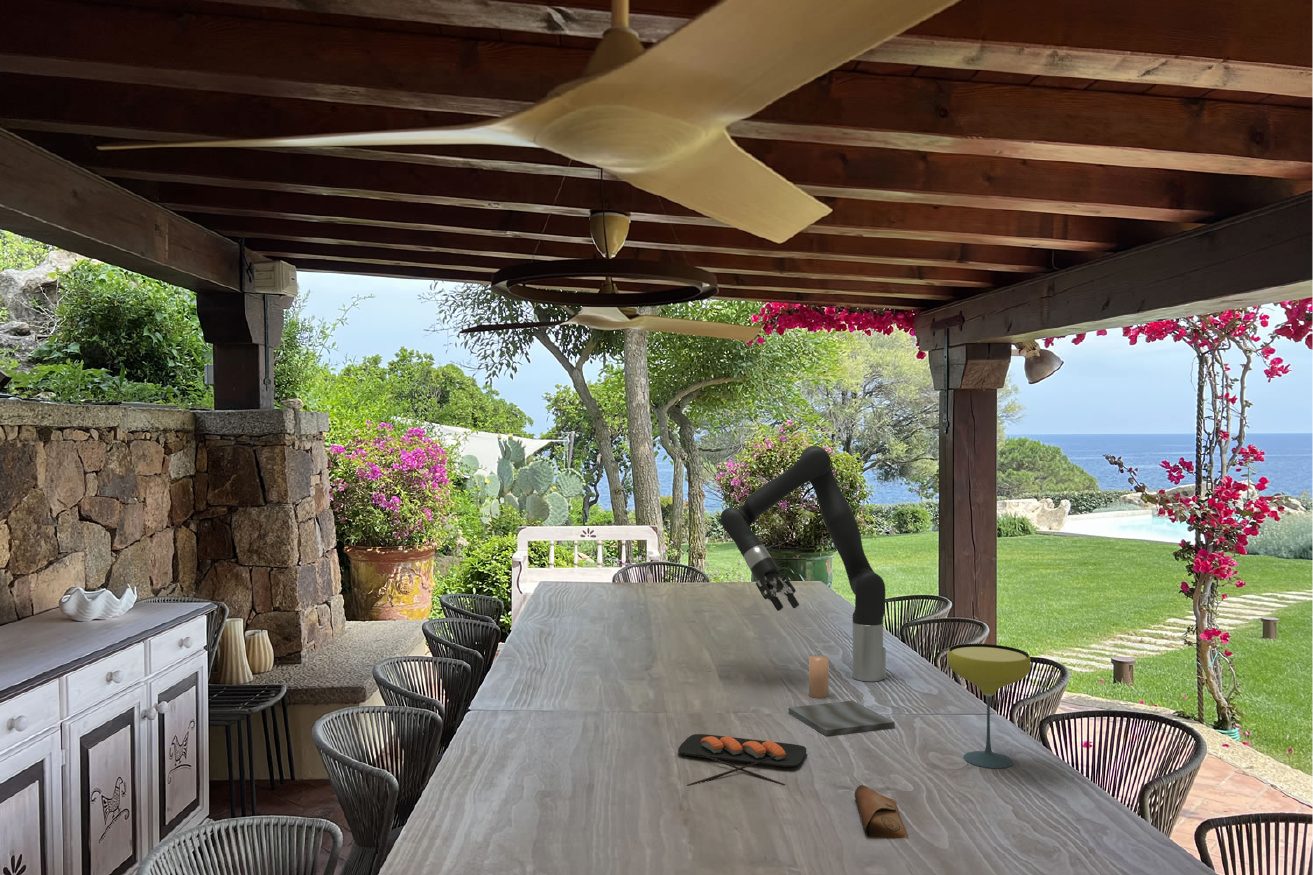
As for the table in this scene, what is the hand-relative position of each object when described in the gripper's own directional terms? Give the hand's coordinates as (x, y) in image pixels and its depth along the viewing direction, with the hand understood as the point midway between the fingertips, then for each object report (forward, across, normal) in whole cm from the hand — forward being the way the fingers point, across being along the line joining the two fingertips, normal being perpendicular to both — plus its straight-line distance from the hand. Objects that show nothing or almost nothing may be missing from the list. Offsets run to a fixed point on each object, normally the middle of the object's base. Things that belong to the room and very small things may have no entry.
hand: (788, 608), depth 267 cm
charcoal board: (+36, -16, -4) cm, 40 cm away
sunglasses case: (+63, -64, -30) cm, 95 cm away
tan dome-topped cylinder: (+25, 0, +7) cm, 26 cm away
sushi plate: (+38, -61, -2) cm, 72 cm away
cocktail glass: (+63, -19, -35) cm, 75 cm away
